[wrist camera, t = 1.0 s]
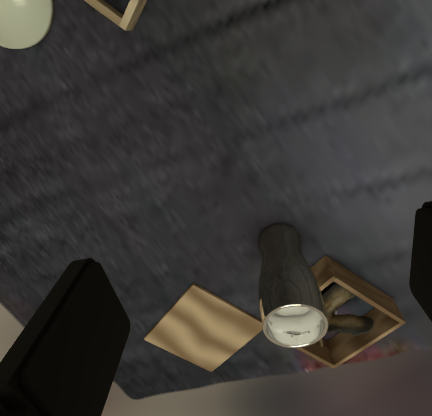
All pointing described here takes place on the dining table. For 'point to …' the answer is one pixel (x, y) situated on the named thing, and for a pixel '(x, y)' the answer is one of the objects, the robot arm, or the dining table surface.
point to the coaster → (25, 22)
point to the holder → (114, 15)
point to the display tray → (382, 315)
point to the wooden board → (204, 328)
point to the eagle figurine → (343, 322)
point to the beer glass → (289, 290)
